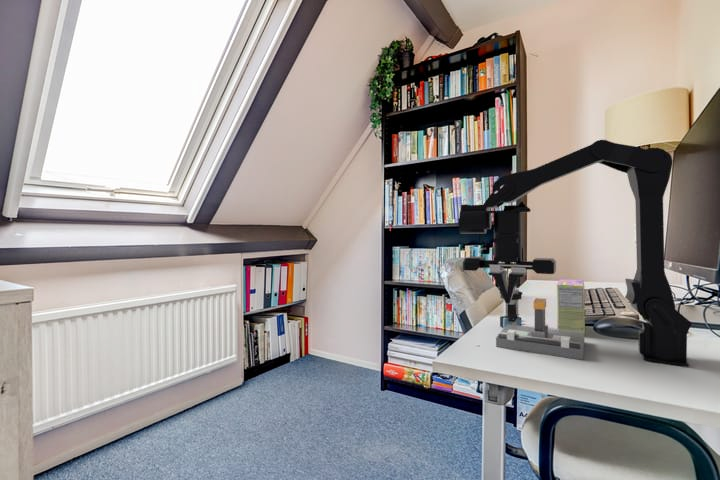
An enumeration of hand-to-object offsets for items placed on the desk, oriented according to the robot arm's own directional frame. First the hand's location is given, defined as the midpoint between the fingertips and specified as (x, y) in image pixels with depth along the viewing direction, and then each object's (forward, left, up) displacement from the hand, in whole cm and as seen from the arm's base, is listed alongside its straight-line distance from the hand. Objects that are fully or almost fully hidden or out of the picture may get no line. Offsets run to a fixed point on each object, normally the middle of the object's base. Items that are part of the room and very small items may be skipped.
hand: (508, 303), depth 82 cm
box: (-11, -16, -9) cm, 22 cm away
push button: (+1, -12, -9) cm, 15 cm away
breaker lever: (-6, 0, -6) cm, 9 cm away
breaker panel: (-6, -1, -9) cm, 11 cm away
